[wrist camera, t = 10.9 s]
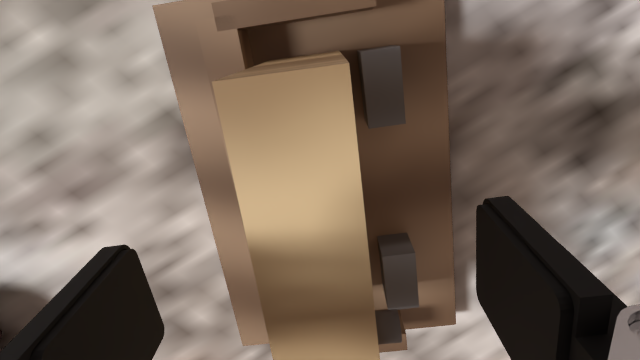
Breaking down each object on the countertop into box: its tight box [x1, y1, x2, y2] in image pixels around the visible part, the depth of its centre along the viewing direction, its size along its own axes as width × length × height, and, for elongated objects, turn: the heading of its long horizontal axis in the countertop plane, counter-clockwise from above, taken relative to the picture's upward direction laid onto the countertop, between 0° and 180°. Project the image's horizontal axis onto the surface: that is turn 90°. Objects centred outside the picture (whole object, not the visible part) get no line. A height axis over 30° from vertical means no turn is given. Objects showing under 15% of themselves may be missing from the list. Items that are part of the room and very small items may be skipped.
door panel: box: [212, 51, 402, 360], centre depth 15 cm, size 12×4×9 cm, turn 8°
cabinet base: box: [153, 0, 456, 353], centre depth 18 cm, size 18×12×3 cm, turn 8°
